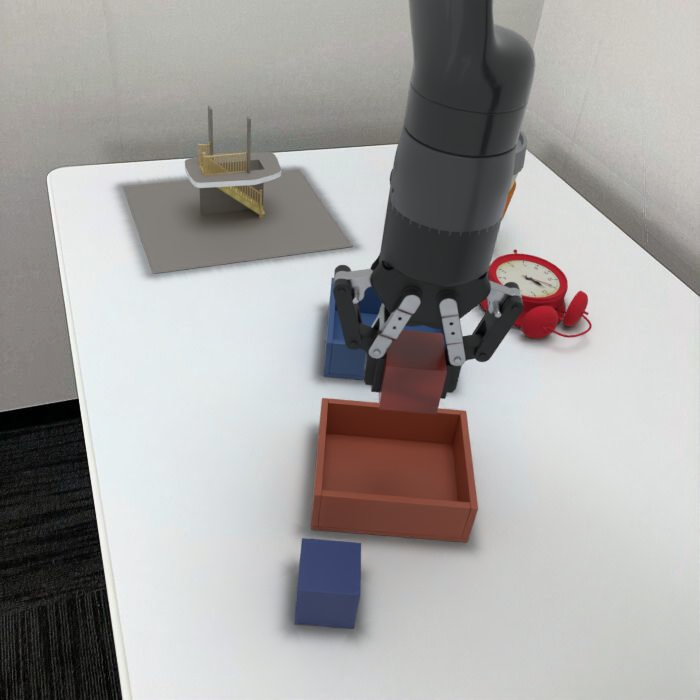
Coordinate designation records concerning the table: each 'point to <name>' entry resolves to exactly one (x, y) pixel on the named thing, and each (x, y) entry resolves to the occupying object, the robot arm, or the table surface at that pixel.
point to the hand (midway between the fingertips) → (408, 387)
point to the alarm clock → (539, 294)
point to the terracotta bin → (393, 472)
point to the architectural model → (230, 212)
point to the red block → (414, 373)
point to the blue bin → (336, 352)
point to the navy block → (328, 583)
